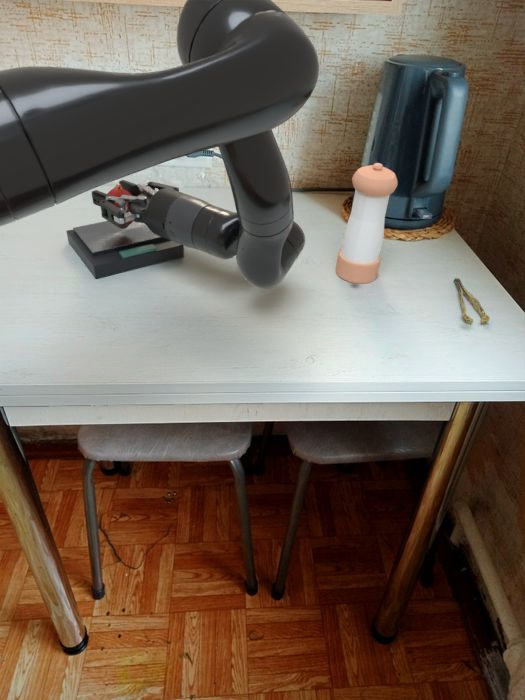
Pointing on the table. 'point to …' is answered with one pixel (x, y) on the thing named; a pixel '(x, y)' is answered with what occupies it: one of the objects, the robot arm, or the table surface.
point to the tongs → (474, 300)
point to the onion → (118, 192)
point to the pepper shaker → (366, 224)
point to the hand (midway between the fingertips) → (107, 191)
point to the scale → (120, 247)
